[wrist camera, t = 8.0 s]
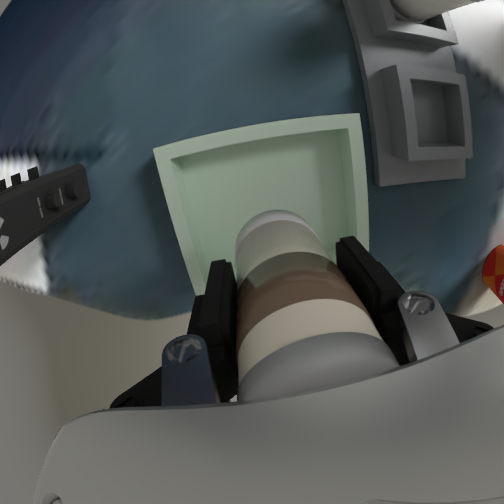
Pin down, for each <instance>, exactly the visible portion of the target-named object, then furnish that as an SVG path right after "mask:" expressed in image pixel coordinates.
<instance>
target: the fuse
mask: <svg viewBox="0 0 504 504" xmlns="http://www.w3.org/2000/svg"><path fill="white" fill-rule="evenodd" d="M480 1H484V0H390V3H391V6H392V9H393V12H394V15H395V18H396V20H399V21H405V22H411V23H416V24H419V23H421V22H423V21H425V20H427V19H429V18H432V17H434V16H437V15H439V14H442V13H445V12H447V11H450V10H453V9H456V8H459V7H462V6H465V5H468V4H471V3H474V2H480Z"/></svg>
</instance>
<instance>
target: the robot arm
mask: <svg viewBox="0 0 504 504" xmlns="http://www.w3.org/2000/svg"><path fill="white" fill-rule="evenodd" d="M336 265H337V266H338V267H339V268H340V270H341V271H342V273H343V274H344V276H345V277H346V279H347V280H348V282H349V283H350V285H351V286H352V288H353V289H354V291H355V292H356V294H357V296H358V297H359V299H360V300H361V302H362V303H363V305H364V307H365V308H366V310H367V311H368V313H369V315H370V316H371V318H372V320H373V322H374V325H375V328H376V330H377V331H378V333H379V335H380V336H381V338H382V340H383V341H384V342H385V343H386V344H387V345H388V346H389V348H390V349H391V351H392V353H393V355H394V356H395V358H396V360H397V361H398V363H399V365H400V366H399V367H396V368H393V369H390V370H387V371H383V372H380V373H377V374H373V375H370V376H367V377H363V378H359V379H356V380H352V381H348V382H344V383H340V384H336V385H331V386H327V387H323V388H318V389H313V390H308V391H303V392H298V393H292V394H287V395H281V396H275V397H268V398H261V399H254V400H246V401H237V402H231V401H230V399H231V398H233V397H234V396H235V395H237V392H238V387H239V375H238V368H237V364H236V316H235V302H236V296H237V284H236V279H235V275H234V271H233V267H232V263H231V262H226V260H225V259H221V260H216V261H211V265H210V270H209V274H208V279H207V284H206V289H205V294H203V295H197V296H196V297H195V301H194V305H193V309H192V314H191V318H190V322H189V327H188V331H187V335H183V336H179V337H177V338H175V339H173V340H172V341H170V342H169V343H168V344H167V345H166V346H165V348H164V349H163V353H162V366H161V367H160V368H158V369H157V370H156V371H154V372H153V373H151V374H150V375H149V376H147V377H146V378H144V379H143V380H141V381H140V382H138V383H137V384H136V385H134V386H133V387H131V388H130V389H128V390H127V391H125V392H124V393H122V394H121V395H119V396H118V397H117V398H116V399H115V400H114V401H113V402H112V404H111V406H110V408H109V409H103V410H98V411H94V412H91V413H87V414H84V415H81V416H78V417H76V418H74V419H72V420H70V421H69V422H68V423H66V424H65V425H64V427H63V428H61V429H60V430H59V431H58V433H57V434H56V436H55V440H54V442H53V444H52V446H51V448H50V450H49V452H48V455H47V457H46V460H45V462H44V465H43V468H42V471H41V474H40V477H39V480H38V484H37V487H36V490H35V494H34V498H33V503H32V504H504V325H503V326H500V327H497V328H493V327H492V326H490V325H488V324H486V323H483V322H479V321H475V320H471V319H467V318H463V317H459V316H455V315H451V314H447V313H444V311H443V309H442V307H441V305H440V304H439V302H438V300H437V299H436V298H435V297H434V296H433V295H431V294H430V293H427V292H424V291H410V292H405V291H404V290H403V289H402V288H401V286H400V285H399V284H398V283H397V281H396V280H395V279H394V278H393V277H392V276H391V274H390V273H389V272H388V271H387V270H386V269H385V267H384V266H383V265H382V264H381V263H380V262H377V261H376V260H375V259H374V258H373V257H372V256H371V254H370V253H369V252H368V251H367V250H366V249H365V248H364V246H363V245H362V244H361V243H360V242H359V241H358V240H357V239H356V238H355V236H348V237H342V238H340V240H339V242H336Z"/></svg>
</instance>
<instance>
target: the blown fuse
mask: <svg viewBox="0 0 504 504" xmlns="http://www.w3.org/2000/svg"><path fill="white" fill-rule="evenodd" d="M235 267H236V284H237V296H236V302H235V316H236V364H237V368H238V375H239V387H238V392H237V401H246V400H254V399H261V398H268V397H275V396H281V395H287V394H292V393H298V392H303V391H308V390H313V389H318V388H323V387H327V386H331V385H336V384H340V383H344V382H348V381H352V380H356V379H359V378H363V377H367V376H370V375H373V374H377V373H380V372H383V371H387V370H390V369H393V368H396V367H399V366H400V365H399V363H398V361H397V360H396V358H395V356H394V355H393V353H392V351H391V349H390V348H389V346H388V345H387V344H386V343H385V342H384V341H383V340H382V338H381V336H380V335H379V333H378V331H377V330H376V328H375V325H374V322H373V320H372V318H371V316H370V315H369V313H368V311H367V310H366V308H365V307H364V305H363V303H362V302H361V300H360V299H359V297H358V296H357V294H356V292H355V291H354V289H353V288H352V286H351V285H350V283H349V282H348V280H347V279H346V277H345V276H344V274H343V273H342V271H341V270H340V268H339V267H338V266H337V265H336V264H335V263H334V262H333V260H332V259H331V257H330V256H329V254H328V253H327V251H326V250H325V248H324V247H323V245H322V244H321V241H320V239H319V238H318V236H317V235H316V233H315V232H314V230H313V229H312V228H311V226H310V225H309V223H308V222H307V221H306V220H305V219H304V218H302V217H301V216H299V215H298V214H296V213H293V212H291V211H287V210H269V211H265V212H262V213H260V214H258V215H256V216H254V217H253V218H251V219H250V220H249V221H248V222H247V223H245V225H244V226H243V227H242V229H241V230H240V232H239V234H238V236H237V239H236V244H235Z"/></svg>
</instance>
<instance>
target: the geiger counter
mask: <svg viewBox="0 0 504 504" xmlns="http://www.w3.org/2000/svg"><path fill="white" fill-rule="evenodd" d="M27 171H28V177H29V180H28V181H25V182H24V181H22V182H21V177H20V173H18V174H15V175H13V176H11V181H12V186H10V187H8V188H6V183H5V179H3V180H1V181H0V266H1V265H2V264H3V263H4V262H6V261H7V260H8V259H9V258H11V257H12V256H13V255H14V254H16V253H17V252H18V251H19V250H21V249H22V248H23V247H25V246H26V245H27V244H29V243H30V242H31V241H33V240H34V239H35V238H37V237H38V236H39V235H41V234H42V233H44V232H45V231H46V230H48V229H49V228H51V227H52V226H54V225H55V224H57V223H58V222H59V221H61V220H62V219H64V218H65V217H67V216H68V215H70V214H72V213H73V212H75V211H76V210H78V209H79V208H81V207H83V206H84V205H86V204H87V203H88V202H89V200H90V198H91V197H90V192H89V187H88V182H87V176H86V171H85V167H84V166H82V165H81V164H77V165H74V166H71V167H68V168H65V169H63V170H59V171H56V172H52V173H49V174H46V175H43V176H40V177H39V174H38V168H37V167H34V168H31V169H28V170H27Z"/></svg>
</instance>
